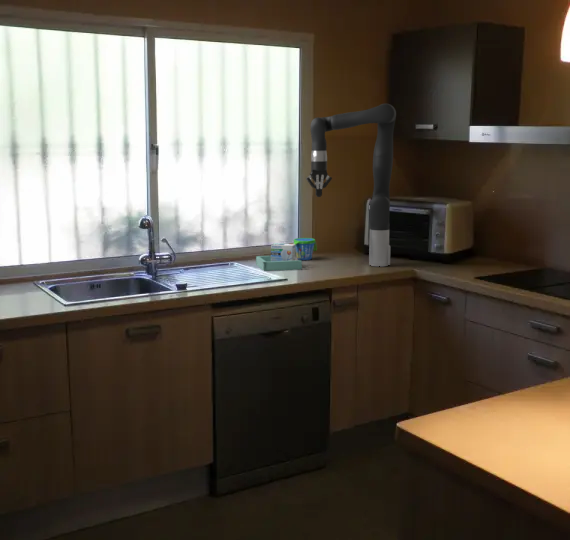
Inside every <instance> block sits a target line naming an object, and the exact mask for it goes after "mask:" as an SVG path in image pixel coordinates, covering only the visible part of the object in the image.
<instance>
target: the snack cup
mask: <svg viewBox="0 0 570 540" xmlns="http://www.w3.org/2000/svg"><path fill="white" fill-rule="evenodd" d="M292 244H295V256H296V259H297V260H301V261H309V260H312V258H313V255H314V252H317V250H318V246H317V245H318V244H317V241H316V239H315V238H313V237H298V238H294V239H293V243H292Z"/></svg>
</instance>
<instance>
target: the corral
mask: <svg viewBox="0 0 570 540" xmlns="http://www.w3.org/2000/svg"><path fill="white" fill-rule="evenodd" d="M255 265H256V266H257V267H258V266H259V267H258V268H259V269H261V270H262V271H263V270H264V272H270V271H272V270H274V271H289V270H290V271H295V270H302V269H303V266H302V265H303V260H298V259H297V260H296V259H295V261H271V255H257V256H255Z"/></svg>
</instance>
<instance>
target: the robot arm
mask: <svg viewBox="0 0 570 540" xmlns="http://www.w3.org/2000/svg"><path fill="white" fill-rule="evenodd" d="M396 117H397V111H396V108H395V107H394V106H393V105H392V104H389V103H381V104H379V105H377V106H374V107H371V108H368V109H363V110H359V111H350V112H349V111H348V112H345V113H343V112H342V113H338V114H333V115H331V116H323V117H319V116H318V117H314V118H313V119H312V120H311V123H310V135H311V153H310V154H311V155H310V173H309V175H308V176H306V177H305V180H306V181H307V184H308V183H309V185H310V187H311V188H313V189H315V196H316V197H317V198H321V197H322V196H323V189H325V188H327V186H328V185H329V183H330V182H331V181H332V179H333V177H332V176H329V175H328V172H327V171H328V155H327V154H328V152H327V147H328V146H327V145H328V143H327V139H326V133H327V132H332V131H335V130H336V131H339V130H346V129H350V128H354V127H357V126H361V125H362V126H363V125H368V124H377V134H376V140H375V144H374V148H373V155H372V156H373V157H372V173H373V174H372V176H373V192H372V197H371V200H370V203H369V245H368V247H369V249H368V251H369V252H368V253H369V254H368V262H369V263H368V265H369V266H370V265H371V266H372V267H379V266H380V267H387V266H388V265H390V266H391V245H390V215H391V214H390V209H391V199H390V183H391V178H392V172H393V171H392V170H393V166H394V163H393V161H394V130H395V129H394V128H395V125H396V124H395V123H396ZM313 181H314V182H313Z"/></svg>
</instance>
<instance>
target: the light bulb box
mask: <svg viewBox="0 0 570 540" xmlns="http://www.w3.org/2000/svg"><path fill="white" fill-rule="evenodd" d="M295 251H296V249H295V244H293V243H285V242H284V243H282V242H281V243H278V242H274V243H273V244H271V245H270V256H271V261H296V254H295Z"/></svg>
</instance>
